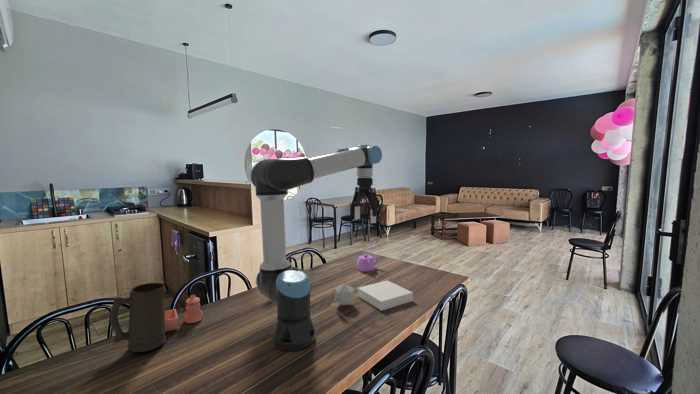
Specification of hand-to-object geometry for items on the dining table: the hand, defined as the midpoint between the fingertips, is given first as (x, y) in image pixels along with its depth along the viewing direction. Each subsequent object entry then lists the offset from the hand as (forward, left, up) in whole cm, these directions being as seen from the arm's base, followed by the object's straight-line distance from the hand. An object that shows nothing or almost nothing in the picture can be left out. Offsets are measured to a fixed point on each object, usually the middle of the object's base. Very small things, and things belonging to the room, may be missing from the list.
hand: (365, 221), depth 144 cm
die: (-18, -9, -35) cm, 40 cm away
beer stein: (-91, +1, -35) cm, 98 cm away
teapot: (+19, +23, -35) cm, 46 cm away
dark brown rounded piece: (-33, +22, -35) cm, 53 cm away
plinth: (+2, -13, -35) cm, 37 cm away
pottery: (-81, +12, -35) cm, 89 cm away
